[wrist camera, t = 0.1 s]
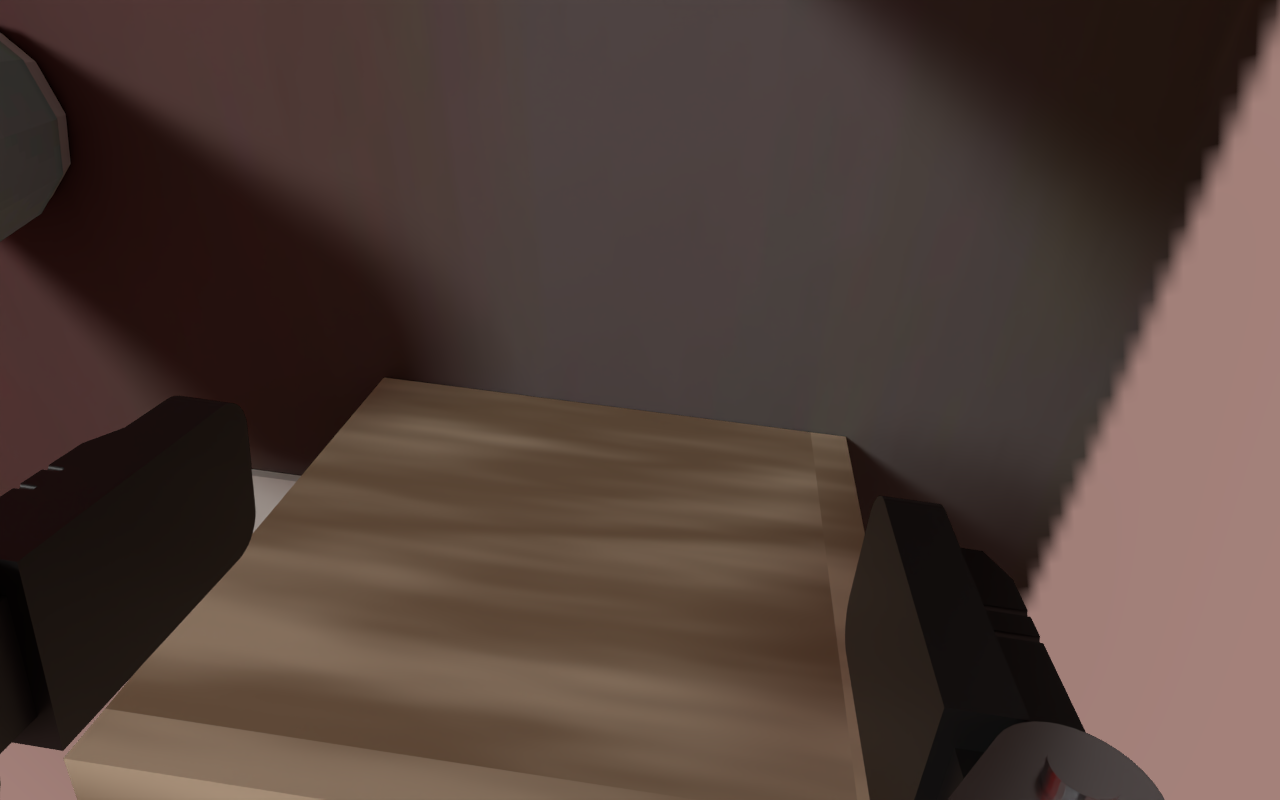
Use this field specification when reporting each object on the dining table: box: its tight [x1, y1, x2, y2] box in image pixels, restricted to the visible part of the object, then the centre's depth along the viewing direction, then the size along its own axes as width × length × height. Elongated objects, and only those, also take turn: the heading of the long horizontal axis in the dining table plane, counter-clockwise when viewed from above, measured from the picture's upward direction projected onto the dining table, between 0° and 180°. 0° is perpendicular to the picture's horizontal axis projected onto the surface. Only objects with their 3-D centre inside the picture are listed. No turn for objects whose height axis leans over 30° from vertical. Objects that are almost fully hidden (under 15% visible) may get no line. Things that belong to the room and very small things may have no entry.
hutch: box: [64, 378, 870, 800], centre depth 27 cm, size 19×16×16 cm
